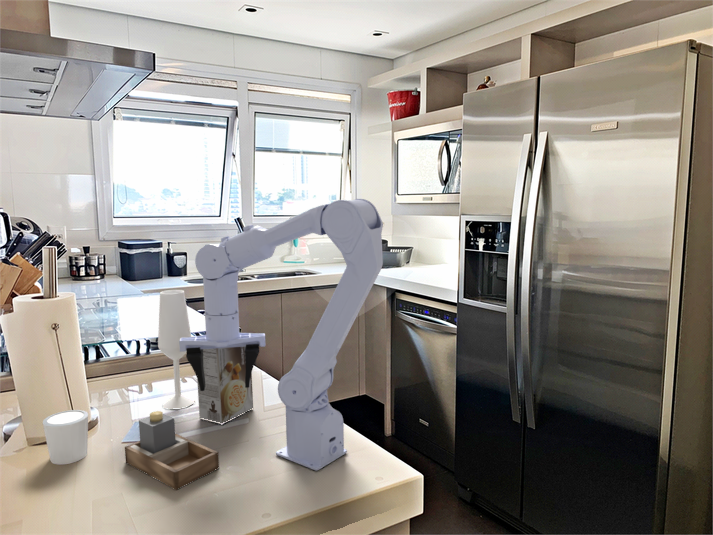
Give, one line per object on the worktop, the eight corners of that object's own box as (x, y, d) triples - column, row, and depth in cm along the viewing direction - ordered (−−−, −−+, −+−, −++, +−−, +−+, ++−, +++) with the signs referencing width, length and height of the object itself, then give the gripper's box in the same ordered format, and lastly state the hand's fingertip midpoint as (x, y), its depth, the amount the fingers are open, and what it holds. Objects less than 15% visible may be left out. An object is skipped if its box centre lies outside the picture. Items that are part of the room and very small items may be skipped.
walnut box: (219, 468, 89) (218, 452, 88) (176, 490, 82) (175, 472, 82) (168, 444, 97) (167, 429, 97) (125, 462, 91) (124, 446, 91)
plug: (176, 454, 92) (173, 412, 91) (155, 464, 89) (152, 420, 88) (162, 448, 95) (159, 407, 94) (141, 457, 92) (138, 414, 91)
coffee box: (230, 404, 116) (227, 329, 113) (254, 409, 112) (251, 333, 110) (198, 419, 108) (193, 340, 106) (222, 426, 105) (218, 344, 102)
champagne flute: (176, 412, 111) (169, 296, 108) (154, 405, 115) (147, 293, 112) (201, 401, 117) (196, 290, 114) (180, 395, 121) (174, 288, 117)
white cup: (41, 469, 89) (37, 428, 88) (52, 450, 96) (48, 411, 95) (87, 463, 91) (83, 422, 90) (95, 444, 98) (91, 407, 97)
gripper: (175, 319, 90) (179, 398, 92) (264, 315, 93) (267, 392, 95) (180, 310, 97) (184, 384, 99) (263, 306, 100) (266, 378, 102)
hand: (225, 387), depth 97 cm, fingers open, 7 cm apart
